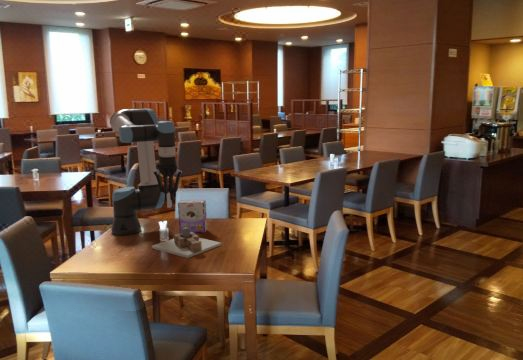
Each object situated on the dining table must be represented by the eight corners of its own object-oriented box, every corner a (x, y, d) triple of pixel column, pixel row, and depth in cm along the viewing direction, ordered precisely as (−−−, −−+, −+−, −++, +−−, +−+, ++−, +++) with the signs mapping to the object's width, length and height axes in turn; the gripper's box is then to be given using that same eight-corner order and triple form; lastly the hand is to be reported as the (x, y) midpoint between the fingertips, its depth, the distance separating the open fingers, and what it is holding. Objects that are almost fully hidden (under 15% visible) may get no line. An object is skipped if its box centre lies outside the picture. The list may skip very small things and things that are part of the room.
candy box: (207, 230, 247) (206, 199, 244) (205, 233, 241) (203, 202, 238) (182, 229, 248) (180, 199, 245) (179, 232, 242) (177, 202, 239)
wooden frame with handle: (174, 242, 221) (173, 234, 220) (192, 239, 225) (192, 231, 224) (186, 253, 205) (186, 244, 204) (206, 250, 209) (205, 241, 209)
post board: (151, 248, 218) (150, 229, 216) (186, 236, 235) (185, 219, 234) (188, 258, 203) (187, 238, 202) (222, 245, 220) (221, 227, 219)
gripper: (150, 157, 205) (153, 208, 209) (179, 157, 204) (181, 209, 208) (155, 154, 212) (158, 204, 216) (183, 154, 211) (185, 205, 216)
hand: (169, 206), depth 212 cm, fingers closed
